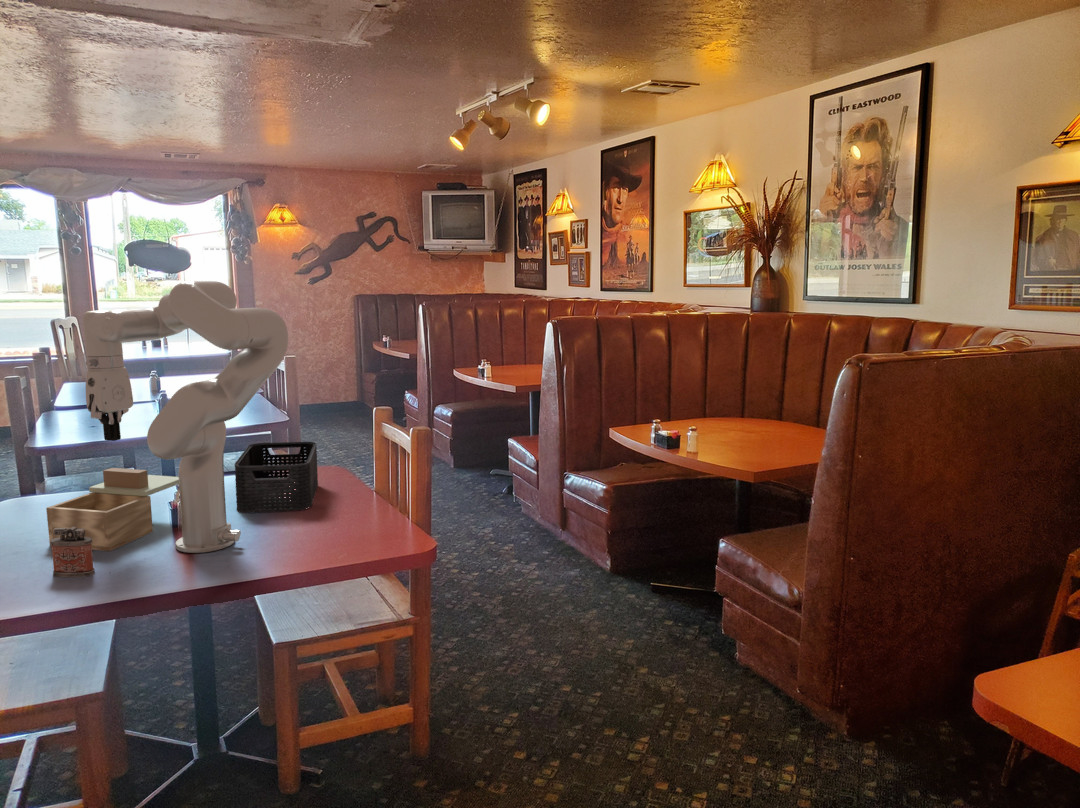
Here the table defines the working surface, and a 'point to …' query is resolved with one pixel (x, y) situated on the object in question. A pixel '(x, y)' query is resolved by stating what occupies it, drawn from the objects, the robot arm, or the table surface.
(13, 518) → the table surface
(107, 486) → the lid
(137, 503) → the wooden box
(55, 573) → the lighter
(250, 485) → the storage bin
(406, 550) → the table surface
